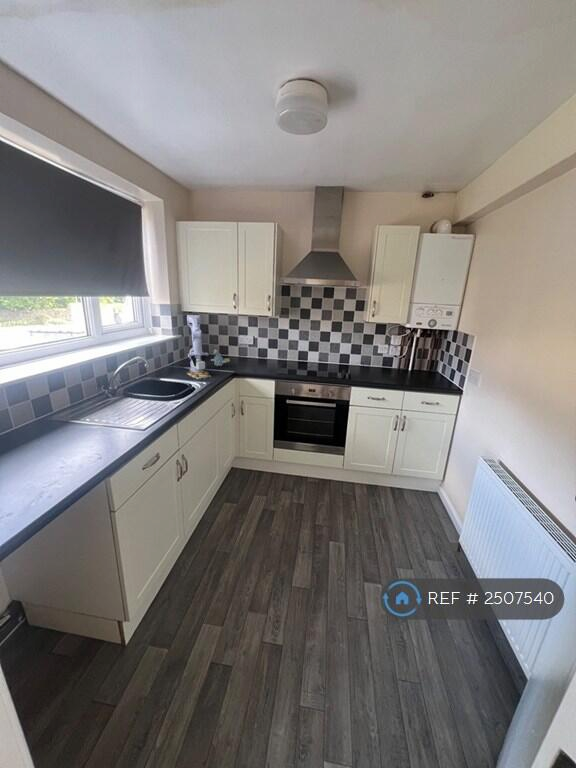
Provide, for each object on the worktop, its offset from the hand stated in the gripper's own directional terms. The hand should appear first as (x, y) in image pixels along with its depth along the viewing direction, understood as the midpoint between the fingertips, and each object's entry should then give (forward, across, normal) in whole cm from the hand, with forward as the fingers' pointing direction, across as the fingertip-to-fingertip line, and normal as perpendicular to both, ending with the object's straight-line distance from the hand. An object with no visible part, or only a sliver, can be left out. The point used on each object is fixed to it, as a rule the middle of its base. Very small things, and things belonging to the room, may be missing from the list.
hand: (198, 365), depth 223 cm
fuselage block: (+1, 0, 0) cm, 1 cm away
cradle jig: (+8, 0, 0) cm, 8 cm away
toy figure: (+8, +27, +21) cm, 35 cm away
